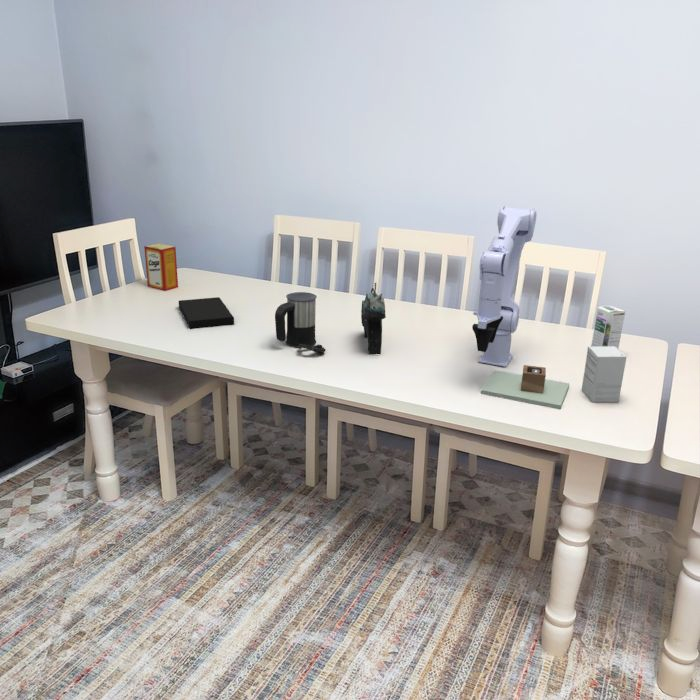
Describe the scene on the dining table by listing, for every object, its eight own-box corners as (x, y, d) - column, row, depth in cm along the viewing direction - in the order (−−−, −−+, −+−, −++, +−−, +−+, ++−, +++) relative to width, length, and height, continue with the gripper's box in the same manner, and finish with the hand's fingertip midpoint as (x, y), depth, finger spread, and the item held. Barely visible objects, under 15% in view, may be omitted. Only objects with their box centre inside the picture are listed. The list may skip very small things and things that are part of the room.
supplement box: (608, 390, 181) (615, 345, 177) (619, 402, 174) (627, 356, 170) (580, 390, 181) (587, 345, 176) (590, 402, 174) (598, 356, 169)
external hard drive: (189, 330, 218) (189, 321, 217) (179, 308, 238) (178, 300, 237) (234, 325, 223) (233, 317, 222) (219, 305, 243) (219, 297, 242)
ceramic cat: (385, 356, 200) (388, 290, 192) (362, 357, 199) (365, 290, 192) (377, 333, 218) (380, 272, 211) (357, 333, 218) (359, 272, 211)
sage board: (494, 373, 190) (494, 369, 190) (568, 386, 183) (569, 383, 182) (480, 393, 177) (481, 389, 177) (560, 409, 170) (560, 405, 169)
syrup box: (589, 352, 207) (596, 306, 202) (604, 350, 209) (612, 304, 204) (602, 359, 202) (610, 312, 197) (618, 356, 204) (626, 310, 199)
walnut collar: (521, 382, 182) (523, 365, 180) (543, 385, 181) (545, 367, 179) (520, 390, 177) (522, 372, 175) (543, 393, 176) (545, 375, 174)
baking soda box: (147, 286, 261) (144, 245, 255) (161, 283, 266) (157, 242, 260) (164, 291, 256) (161, 248, 250) (178, 287, 261) (175, 245, 256)
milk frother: (296, 335, 215) (296, 289, 209) (340, 344, 208) (341, 297, 203) (271, 349, 203) (270, 301, 198) (317, 360, 196) (317, 310, 191)
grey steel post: (530, 386, 180) (532, 368, 178) (538, 387, 179) (540, 369, 178) (529, 388, 178) (531, 371, 177) (536, 390, 178) (539, 372, 176)
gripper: (482, 288, 186) (477, 335, 191) (468, 302, 173) (463, 352, 178) (508, 292, 183) (503, 339, 188) (495, 306, 171) (490, 357, 175)
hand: (485, 346), depth 183 cm, fingers open, 7 cm apart
